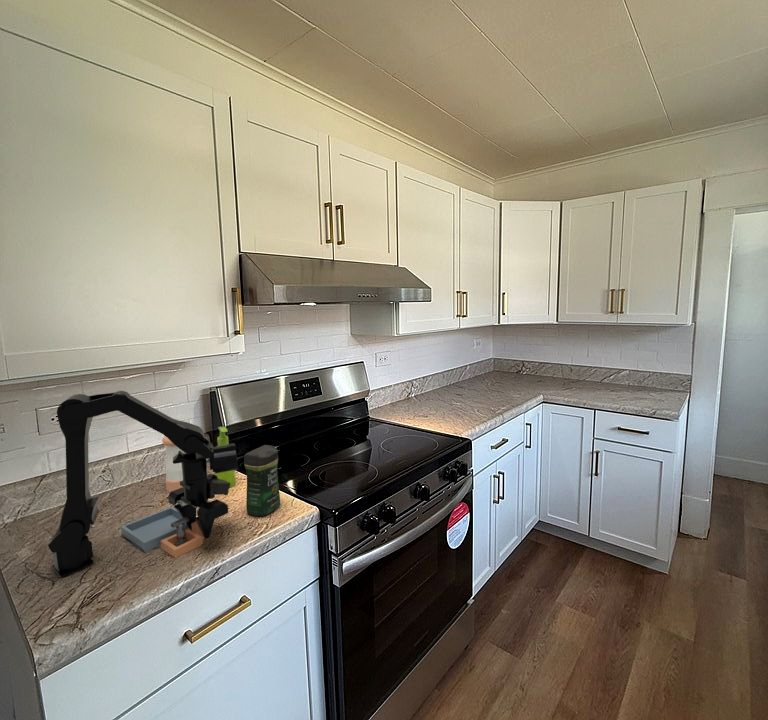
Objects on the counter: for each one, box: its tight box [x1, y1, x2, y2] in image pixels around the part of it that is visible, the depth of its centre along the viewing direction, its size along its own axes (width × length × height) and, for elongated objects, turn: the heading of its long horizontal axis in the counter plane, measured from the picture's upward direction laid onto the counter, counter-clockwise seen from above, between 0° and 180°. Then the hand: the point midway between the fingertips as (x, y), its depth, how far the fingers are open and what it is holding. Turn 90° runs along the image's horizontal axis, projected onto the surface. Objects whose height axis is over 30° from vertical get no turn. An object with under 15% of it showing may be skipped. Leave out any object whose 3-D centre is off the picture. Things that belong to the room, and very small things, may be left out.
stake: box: [171, 517, 189, 547], centre depth 104 cm, size 4×2×7 cm, turn 143°
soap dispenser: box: [215, 426, 236, 489], centre depth 139 cm, size 6×7×20 cm
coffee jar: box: [243, 444, 281, 517], centre depth 122 cm, size 10×8×19 cm
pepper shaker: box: [161, 435, 185, 493], centre depth 138 cm, size 7×7×19 cm
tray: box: [120, 506, 190, 553], centre depth 112 cm, size 13×13×2 cm
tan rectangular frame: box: [160, 522, 206, 559], centre depth 106 cm, size 10×7×4 cm
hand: (200, 534), depth 108 cm, fingers open, 6 cm apart
